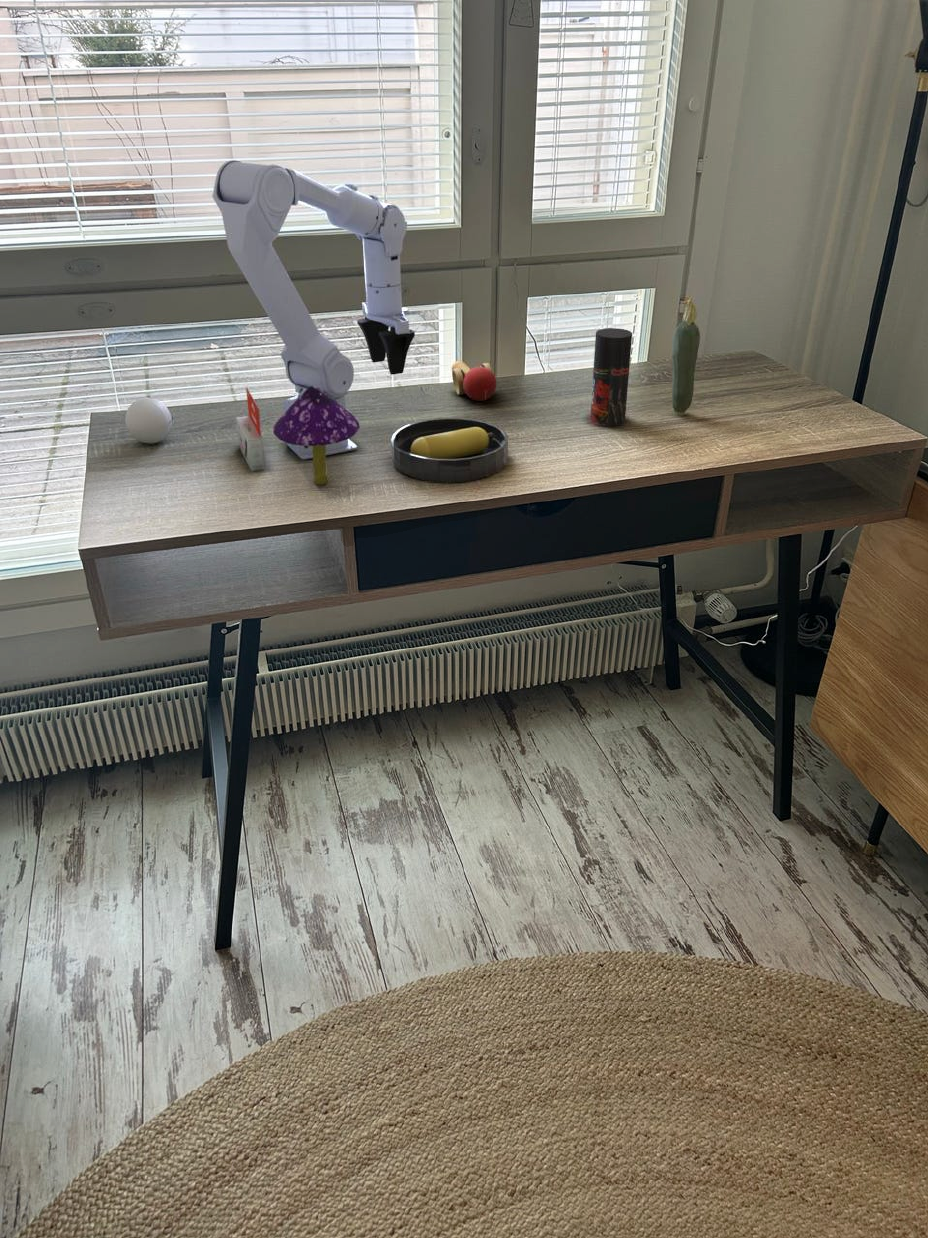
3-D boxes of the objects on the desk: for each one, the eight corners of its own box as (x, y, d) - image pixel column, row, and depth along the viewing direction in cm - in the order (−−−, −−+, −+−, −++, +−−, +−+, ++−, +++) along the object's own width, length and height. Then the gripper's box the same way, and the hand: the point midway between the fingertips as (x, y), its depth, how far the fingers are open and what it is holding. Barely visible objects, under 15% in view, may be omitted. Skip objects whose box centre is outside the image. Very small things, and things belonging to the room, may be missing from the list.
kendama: (436, 384, 186) (460, 401, 170) (440, 351, 184) (465, 365, 168) (474, 388, 188) (501, 405, 172) (478, 355, 186) (506, 369, 170)
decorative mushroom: (304, 509, 135) (293, 407, 127) (265, 481, 144) (252, 383, 136) (379, 488, 141) (373, 388, 134) (337, 461, 150) (329, 367, 142)
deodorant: (631, 423, 163) (639, 335, 156) (600, 428, 162) (606, 339, 154) (614, 412, 168) (620, 326, 160) (584, 417, 166) (589, 330, 158)
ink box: (251, 472, 147) (243, 411, 142) (239, 446, 156) (231, 388, 151) (267, 469, 147) (259, 409, 142) (254, 444, 156) (246, 386, 151)
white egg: (174, 448, 155) (166, 404, 151) (127, 451, 154) (118, 407, 150) (179, 427, 164) (172, 385, 160) (134, 429, 163) (126, 387, 159)
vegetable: (692, 420, 165) (706, 301, 154) (667, 420, 165) (680, 301, 154) (687, 411, 168) (701, 294, 158) (663, 411, 168) (675, 294, 158)
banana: (418, 470, 146) (417, 444, 144) (406, 461, 149) (405, 435, 147) (498, 453, 151) (498, 428, 149) (485, 445, 154) (485, 420, 152)
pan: (423, 492, 140) (422, 468, 138) (374, 452, 153) (373, 429, 151) (528, 469, 147) (529, 446, 145) (473, 432, 160) (473, 410, 158)
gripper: (425, 289, 150) (427, 375, 157) (387, 272, 160) (391, 352, 168) (383, 294, 147) (388, 381, 154) (348, 276, 158) (354, 358, 165)
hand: (387, 367), depth 161 cm, fingers open, 7 cm apart
